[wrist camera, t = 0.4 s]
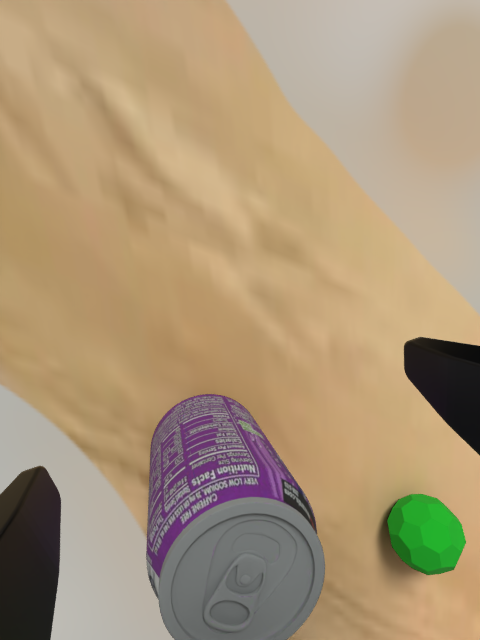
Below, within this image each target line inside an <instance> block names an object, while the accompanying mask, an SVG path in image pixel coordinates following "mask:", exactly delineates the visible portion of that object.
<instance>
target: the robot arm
mask: <svg viewBox="0 0 480 640" xmlns="http://www.w3.org/2000/svg"><path fill="white" fill-rule="evenodd" d="M404 369H405V373H406V375H407V377H408V379H409V380H410V381H411V382H412V383H413V384H414V386H415V387H416V388H417V389H418V390H419V392H420V393H421V394H422V395H423V396H424V397H425V399H426V400H427V401H428V402H429V403H430V405H431V406H432V407H433V408H434V409H435V410H436V412H437V413H438V414H439V415H440V416H441V417H442V418H443V420H444V421H445V422H446V423H447V424H448V425H449V426H450V427H451V428H452V429H453V430H454V431H455V432H456V433H457V434H458V435H459V436H460V437H461V438H462V439H463V440H464V441H465V442H466V443H467V444H468V445H470V446H471V447H472V448H473V449H474V450H475V451H476V452H477V453H478V454H479V455H480V346H477V345H470V344H464V343H457V342H450V341H444V340H437V339H431V338H424V337H418V338H415V339H412V340H409V341H407V342H406V343H405V345H404ZM60 517H61V498H60V494H59V492H58V489H57V488H56V486H55V484H54V482H53V480H52V479H51V477H50V476H49V473H48V472H47V470H46V469H45V468H44V467H43V466H38V467H34V468H32V469H29V470H26V471H23V472H21V473H20V474H19V475H18V476H17V478H16V479H15V480H14V481H13V482H12V483H11V484H10V485H9V486H8V487H7V488H6V489H5V490H4V491H3V492H2V493H1V494H0V640H50V638H51V630H52V622H53V615H54V608H55V601H56V593H57V585H58V577H59V562H60V521H61V518H60Z"/></svg>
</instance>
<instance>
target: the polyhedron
mask: <svg viewBox="0 0 480 640" xmlns="http://www.w3.org/2000/svg"><path fill="white" fill-rule="evenodd" d="M387 521H388V528H389V533H390V539H391V544H392V547H393V549H394V550H395V551H396V553H397V554H398V555H399V557H400V558H401V559H402V561H403V562H405V563H406V564H407V565H409V566H410V567H411V568H413V569H415V570H417V571H420V572H422V573H424V574H426V575H433V574H441V573H444V572H448V571H451V570H454V568H455V566H456V564H457V562H458V559H459V557H460V555H461V553H462V550H463V548H464V546H465V543H466V540H465V536H464V532H463V528H462V525H461V523H460V522H459V520H458V518H457V517H456V516H455V515H454V514H453V513H452V512H451V511H450V510H449V509H448V508H447V507H446V506H445V505H444V504H443V503H442V502H441V501H439V500H438V499H437V498H434V497H430V496H427V495H424V494H411V495H408V496H406V497H404V498H401V499H399V500H398V501H397V503H396V504H395V505H394V507H393V508H392V511H391V513H390V515H389V518H388V520H387Z"/></svg>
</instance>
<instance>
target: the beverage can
mask: <svg viewBox="0 0 480 640" xmlns="http://www.w3.org/2000/svg"><path fill="white" fill-rule="evenodd" d="M146 557H147V558H146V559H147V570H148V576H149V580H150V582H151V586H152V588H153V590H154V592H155V594H156V596H157V598H158V600H159V607H160V612H161V616H162V619H163V622H164V624H165V626H166V628H167V630H168V631H169V633H170V634H171V636H172V637H173V638H174V639H175V640H287V639H288V638H289V637H290V636H292V635H293V634H294V633H295V632H296V631H297V630H298V629H299V628H300V627H301V626H302V624H303V623H304V622H305V621H306V619H307V618H308V617H309V615H310V613H311V612H312V610H313V608H314V607H315V605H316V603H317V600H318V598H319V596H320V593H321V590H322V586H323V581H324V574H325V560H324V553H323V549H322V546H321V543H320V540H319V538H318V536H317V529H316V522H315V517H314V513H313V510H312V507H311V505H310V503H309V501H308V499H307V497H306V496H305V494H304V492H303V491H302V489H301V488H300V486H299V485H298V483H297V482H296V481H295V479H294V478H293V476H292V475H291V473H290V472H289V470H288V469H287V467H286V466H285V464H284V463H283V461H282V460H281V458H280V457H279V455H278V454H277V452H276V451H275V450H274V448H273V447H272V445H271V444H270V442H269V441H268V439H267V438H266V436H265V435H264V433H263V432H262V430H261V429H260V427H259V426H258V424H257V423H256V421H255V420H254V419H253V417H252V416H251V414H250V413H249V412H248V410H247V409H246V408H245V407H243V406H242V405H241V404H240V403H238V402H237V401H235V400H233V399H231V398H228V397H225V396H221V395H215V394H205V395H198V396H194V397H191V398H188V399H186V400H184V401H182V402H180V403H178V404H177V405H175V406H174V407H173V408H172V409H170V410H169V411H168V412H167V413H166V414H165V415H164V417H163V418H162V419H161V421H160V422H159V424H158V425H157V427H156V429H155V432H154V434H153V438H152V442H151V453H150V478H149V503H148V527H147V553H146Z"/></svg>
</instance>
